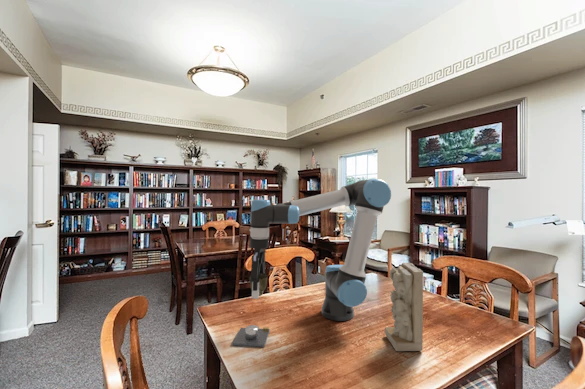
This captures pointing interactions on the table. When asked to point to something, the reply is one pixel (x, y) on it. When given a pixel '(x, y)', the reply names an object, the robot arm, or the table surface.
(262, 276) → the scalloped lamp shade
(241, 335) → the grey plate with knob
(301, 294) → the table surface
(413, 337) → the sculpture
